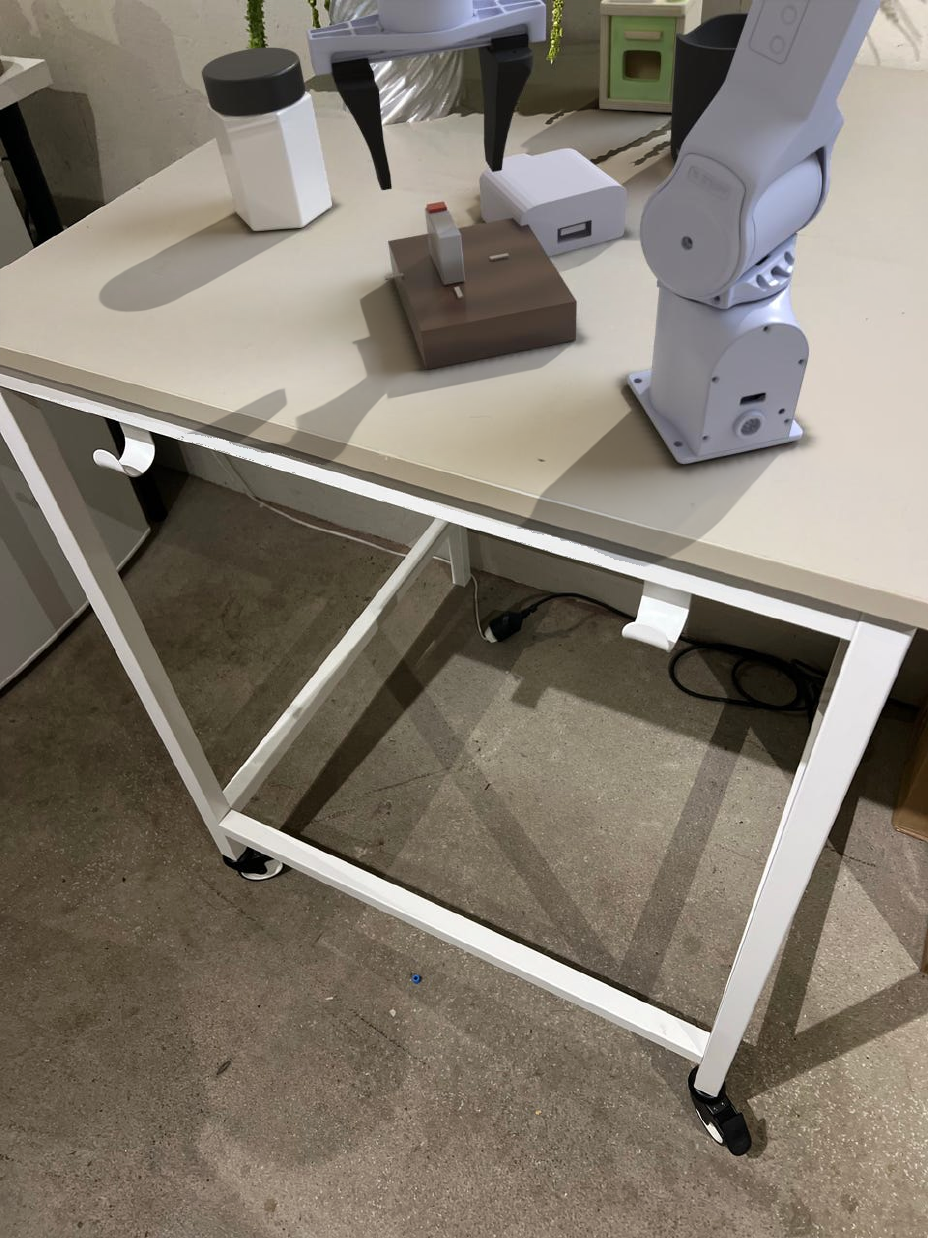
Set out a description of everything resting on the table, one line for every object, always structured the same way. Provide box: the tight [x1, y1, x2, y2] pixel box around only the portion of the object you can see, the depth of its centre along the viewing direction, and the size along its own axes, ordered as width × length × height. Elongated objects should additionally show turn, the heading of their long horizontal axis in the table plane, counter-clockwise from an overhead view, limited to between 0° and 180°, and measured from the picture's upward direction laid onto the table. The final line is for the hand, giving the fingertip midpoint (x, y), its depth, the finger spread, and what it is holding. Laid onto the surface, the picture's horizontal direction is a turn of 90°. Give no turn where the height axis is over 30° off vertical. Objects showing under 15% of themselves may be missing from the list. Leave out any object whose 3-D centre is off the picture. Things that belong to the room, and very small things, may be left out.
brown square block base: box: [384, 218, 578, 370], centre depth 65 cm, size 14×12×3 cm
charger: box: [478, 147, 628, 257], centre depth 74 cm, size 5×9×15 cm
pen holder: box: [669, 12, 749, 164], centre depth 76 cm, size 9×9×10 cm
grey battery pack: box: [424, 201, 465, 285], centre depth 63 cm, size 5×2×4 cm, turn 13°
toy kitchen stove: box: [598, 0, 703, 114], centre depth 85 cm, size 8×7×13 cm
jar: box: [201, 47, 333, 232], centre depth 75 cm, size 9×8×12 cm
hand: (439, 174), depth 59 cm, fingers open, 7 cm apart
